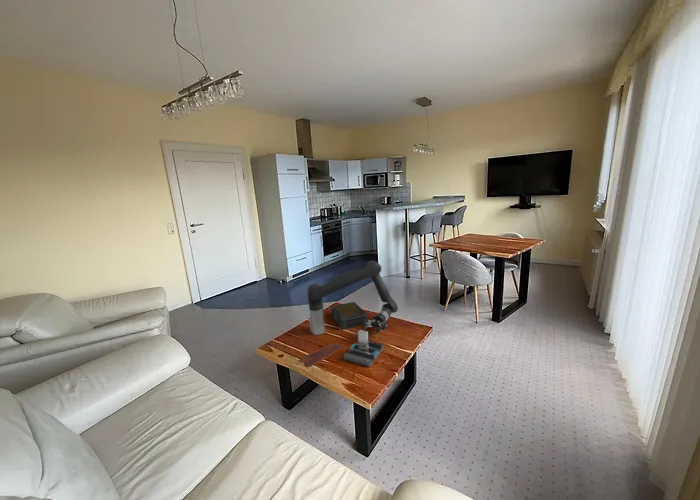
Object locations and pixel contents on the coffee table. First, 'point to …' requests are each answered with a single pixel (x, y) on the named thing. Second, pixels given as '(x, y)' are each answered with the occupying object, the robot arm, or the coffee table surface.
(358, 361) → the rack
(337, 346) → the wooden tablet
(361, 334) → the panel
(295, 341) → the coffee table surface
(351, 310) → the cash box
